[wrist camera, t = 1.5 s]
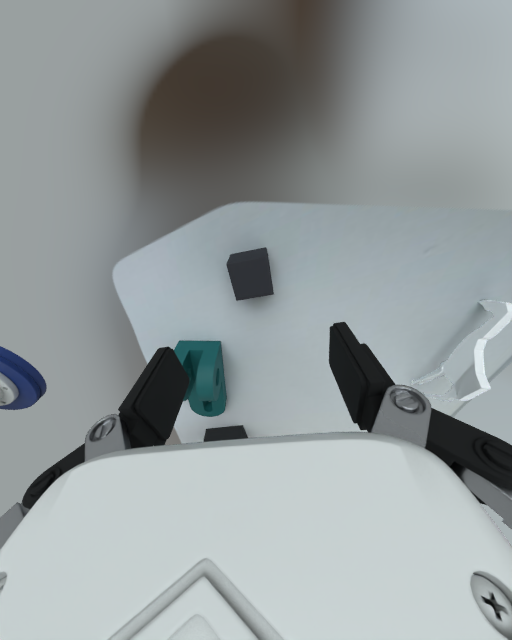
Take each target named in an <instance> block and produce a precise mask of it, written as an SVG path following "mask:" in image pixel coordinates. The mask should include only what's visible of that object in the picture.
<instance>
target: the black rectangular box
mask: <svg viewBox="0 0 512 640" xmlns="http://www.w3.org/2000/svg"><path fill="white" fill-rule="evenodd" d="M247 438H248V437H247V435H246V432H245V430H244V427H243V425H242V426H232V427H222V428H212V429H206V433H205V437H204V442H210V441H222V440H235V439H247Z"/></svg>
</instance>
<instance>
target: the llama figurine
mask: <svg viewBox="0 0 512 640" xmlns="http://www.w3.org/2000/svg"><path fill="white" fill-rule="evenodd" d="M478 303H480V304H482V305H483V307H484V308H485V311H492V314H493V317H492V318H490V319H489V320H487V321H486V322H485V323H484V324H483V325H482V326H481V327H479V328H478V329H476V330H475V331H473V332H471V333H470V334H469V335H468V336H467V337H466V338H465V339H464V340H463V341H462V342H461V343H460V344H459V345H458V346H457V347H456V349H455V350H454V351H453V353H452V354H451V355H450V356H449V358H448V359H447V360H446V361H444V362H442V363H441V364H440V367H439V368H438V369H436V370H435V371H433V372H431V373H429V374H428V375H425V376H423V377H421V378H419V379H417V380H415V381H414V380H413V379H412V380H411V384H416V383H418V385H422V384H424V383H426V382H429V381H431V380H433V379H436V378H438V377H441V376H444V375H445V376H446V378H447V379H448V380H449V381H450V382H451V383H452V384H453V385H452V387H451V390H449V391H448V392H446V393H445V394H444V395H436V394H435V395H433V394H424V392H422V393H423V395H424V396H425V397H426V398H436V399H439V400H441V401H449V402H451V401H453V400H455V399H456V400H463V401H468V400H470V399H472V398H474V397H476V396H478V395H480V394H482V393H484V392H486V391H488V390H490V389H491V388H490V385H489V383H488V381H487V378H486V376H485V368H484V354H483V350H484V348H485V345H486V342H487V340H490V339H492V338H493V337H494V336H496V335H497V334H498V333H499V332H500V331H501V330H502V329H503V328H504V327H505V326H506V325H507V324H508V323H509V322H510V321H511V320H512V303H508V302H499V301H490V300H482V301H480V302H478Z"/></svg>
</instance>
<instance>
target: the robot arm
mask: <svg viewBox="0 0 512 640" xmlns="http://www.w3.org/2000/svg"><path fill="white" fill-rule="evenodd" d="M329 364H330V367H331V370H332V372H333V375H334V377H335V379H336V382H337V384H338V387H339V389H340V392H341V394H342V396H343V399H344V401H345V404H346V406H347V408H348V411H349V413H350V416H351V418H352V420H353V422H354V423H358V426H359V428H360V430H367V431H368V432H332V433H315V434H300V435H286V436H273V437H260V438H247V439H235V440H222V441H210V442H198V443H186V444H175V445H165V442H166V440H167V439H168V438H169V437H170V434H171V432H172V429H173V426H174V423H175V421H176V418H177V415H178V413H179V410H180V407H181V405H182V402H183V399H184V396H185V394H186V391H187V388H188V386H189V382H190V380H189V377H188V375H187V373H186V371H185V370H184V368H183V366H182V364H181V363H180V361H179V359H178V357H177V355H176V354H175V352H174V350H173V349H171V348H170V347H164V348H159V349H158V350H157V351H156V353H155V354H154V356H153V357H152V359H151V360H150V362H149V363H148V365H147V366H146V368H145V369H144V371H143V372H142V374H141V375H140V377H139V379H138V380H137V382H136V383H135V385H134V386H133V388H132V389H131V391H130V392H129V394H128V395H127V397H126V398H125V400H124V401H123V403H122V404H121V406H120V407H119V409H118V410H119V411H120V413H119V415H116V414H111V415H108V416H106V417H104V418H102V419H101V420H99V421H98V422H97V423H96V424H94V425H93V426H92V428H91V429H90V430H89V431H88V434H87V435H86V438H85V443H84V444H83V445H81V446H80V447H79V448H77V449H76V450H75V451H73V452H71V453H70V454H69V455H67V456H66V457H64V458H63V459H62V460H60V461H59V462H57V463H56V464H55V465H53V466H52V467H50V468H49V469H47V470H46V471H45V472H43V474H41V475H40V476H39V477H38V478H37V479H36V480H35V481H34V482H33V483H32V484H31V485H30V487H29V488H28V489H27V491H26V493H25V495H24V497H23V500H22V503H21V504H20V503H16V504H15V505H14V506H13V507H12V508H11V509H9V510H8V511H7V512H6V513H5V514H4V515H3V516H2V517H1V518H0V640H512V546H511V545H510V543H509V542H508V540H507V539H506V538H505V536H504V535H503V534H502V532H501V531H500V529H499V528H498V527H497V525H496V524H495V522H494V521H493V520H492V519H491V517H490V516H489V515H488V514H487V512H486V511H485V509H484V508H483V507H482V505H481V504H480V503H482V504H485V505H488V506H489V507H490V508H491V509H493V510H494V511H495V512H496V513H497V514H499V515H500V516H501V517H502V518H503V522H504V523H505V524H506V525H507V526H508V527H509V528H511V529H512V445H510V444H508V443H507V442H505V441H503V440H501V439H499V438H497V437H495V436H492V435H490V434H488V433H486V432H484V431H481V430H479V429H477V428H475V427H472V426H470V425H468V424H466V423H464V422H461V421H459V420H457V419H455V418H453V417H451V416H448V415H446V414H444V413H442V412H440V411H437V410H435V409H433V408H431V404H430V402H429V400H428V399H427V398H426V397H425V396H424V395H423V394H422V393H421V392H419V391H418V390H416V389H414V388H412V387H409V386H405V385H395V383H394V382H393V381H392V379H391V378H390V376H389V375H388V374H387V372H386V371H385V369H384V368H383V367H382V365H381V364H380V363H379V361H378V360H377V358H376V357H375V356H374V354H373V353H372V351H371V350H370V349H369V347H368V346H367V345H366V344H360V343H359V342H358V340H357V339H356V337H355V336H354V334H353V333H352V331H351V330H350V328H349V327H348V325H347V324H346V323H345V322H340V323H334V324H333V326H331V327H330V345H329ZM18 395H19V391H18V388H17V387H16V385H15V384H14V383H13V382H12V381H11V380H10V379H9V378H8V377H6V376H5V375H4V374H2V373H1V372H0V406H2V405H7V404H10V403H11V402H13V401H14V400H15V399H16V398H17V397H18ZM153 445H154V446H153ZM472 574H474V575H472Z"/></svg>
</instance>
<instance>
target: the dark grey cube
mask: <svg viewBox="0 0 512 640" xmlns="http://www.w3.org/2000/svg"><path fill="white" fill-rule="evenodd" d="M227 268H228V272H229V275H230V279H231V283H232V286H233V290H234V294H235V297H236V300H243V299H249V298H255V297H261V296H267V295H273V294H274V292H273V286H272V279H271V273H270V266H269V260H268V254H267V249H266V248H261V249H256V250H251V251H246V252H241V253H235V254H231V255H230V257H229V260H228V262H227Z"/></svg>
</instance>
